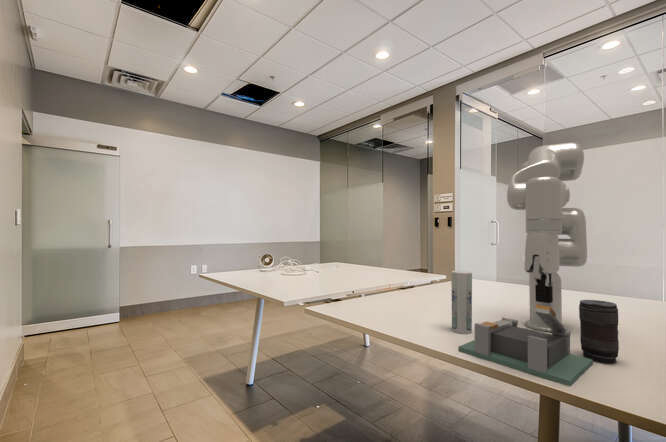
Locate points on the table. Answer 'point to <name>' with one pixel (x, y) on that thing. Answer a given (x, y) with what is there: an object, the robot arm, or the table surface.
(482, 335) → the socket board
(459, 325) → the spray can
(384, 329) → the table surface
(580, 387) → the table surface
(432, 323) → the table surface
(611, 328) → the camera lens
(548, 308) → the strap
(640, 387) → the table surface
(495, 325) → the strap
